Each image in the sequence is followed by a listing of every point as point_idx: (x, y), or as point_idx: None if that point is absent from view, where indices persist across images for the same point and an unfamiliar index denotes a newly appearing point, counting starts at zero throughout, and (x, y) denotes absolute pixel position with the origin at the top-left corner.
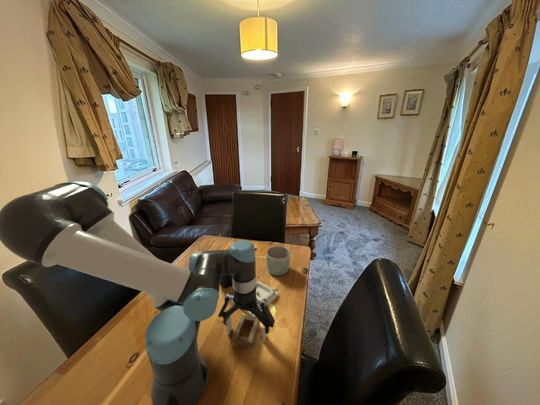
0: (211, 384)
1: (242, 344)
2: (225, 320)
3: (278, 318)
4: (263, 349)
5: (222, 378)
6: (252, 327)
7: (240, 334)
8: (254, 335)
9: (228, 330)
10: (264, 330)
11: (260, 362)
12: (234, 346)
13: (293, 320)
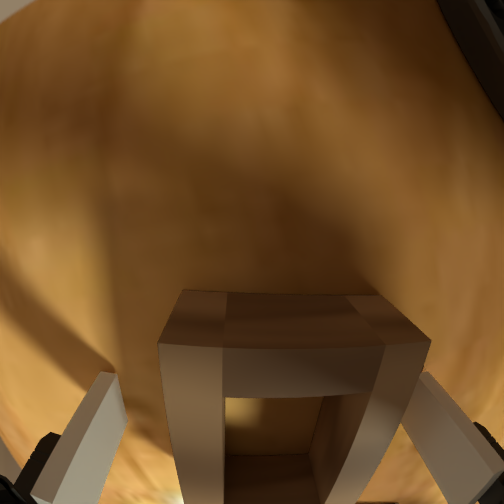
0: (417, 2)
1: (288, 319)
2: (496, 457)
3: (106, 489)
4: (90, 315)
5: (368, 24)
6: (222, 481)
7: (331, 402)
8: (172, 424)
9: (438, 398)
10: (45, 470)
11: (78, 198)
12: (362, 296)
13: None
